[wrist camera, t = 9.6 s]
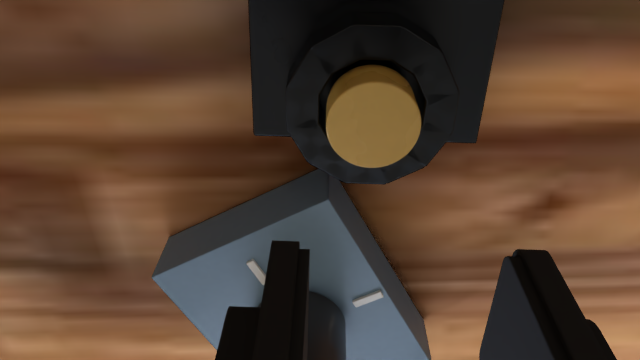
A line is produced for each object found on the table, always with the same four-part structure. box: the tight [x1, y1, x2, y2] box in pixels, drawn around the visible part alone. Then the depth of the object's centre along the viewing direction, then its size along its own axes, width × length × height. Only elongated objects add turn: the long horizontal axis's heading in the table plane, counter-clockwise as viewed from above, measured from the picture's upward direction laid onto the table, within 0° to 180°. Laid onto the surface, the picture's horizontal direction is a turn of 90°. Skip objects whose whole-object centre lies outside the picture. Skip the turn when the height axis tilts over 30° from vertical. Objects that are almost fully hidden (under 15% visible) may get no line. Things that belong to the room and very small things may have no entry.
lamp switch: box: [326, 65, 421, 168], centre depth 19 cm, size 3×3×2 cm
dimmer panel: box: [152, 169, 431, 360], centre depth 26 cm, size 11×9×3 cm
